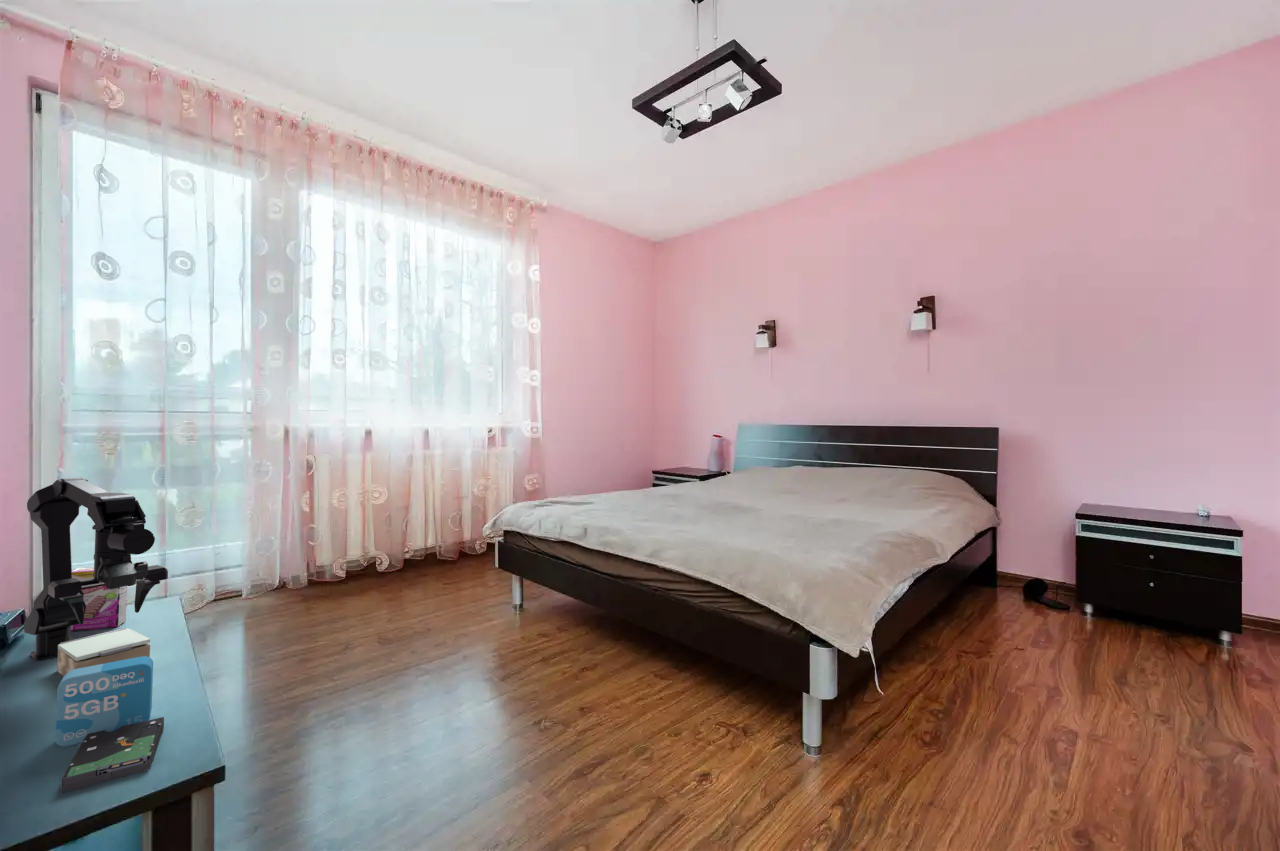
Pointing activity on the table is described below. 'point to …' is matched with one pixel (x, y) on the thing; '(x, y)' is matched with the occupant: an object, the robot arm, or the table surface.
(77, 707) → the data package
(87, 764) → the disk drive
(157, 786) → the table surface
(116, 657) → the box
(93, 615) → the candy bar box
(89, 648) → the lid
